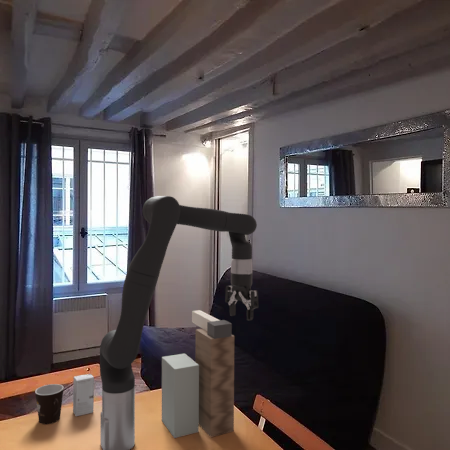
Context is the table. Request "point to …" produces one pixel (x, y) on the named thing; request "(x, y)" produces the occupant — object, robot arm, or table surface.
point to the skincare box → (83, 394)
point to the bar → (212, 324)
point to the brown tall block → (215, 382)
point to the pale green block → (180, 395)
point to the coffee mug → (49, 403)
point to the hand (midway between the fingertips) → (241, 317)
